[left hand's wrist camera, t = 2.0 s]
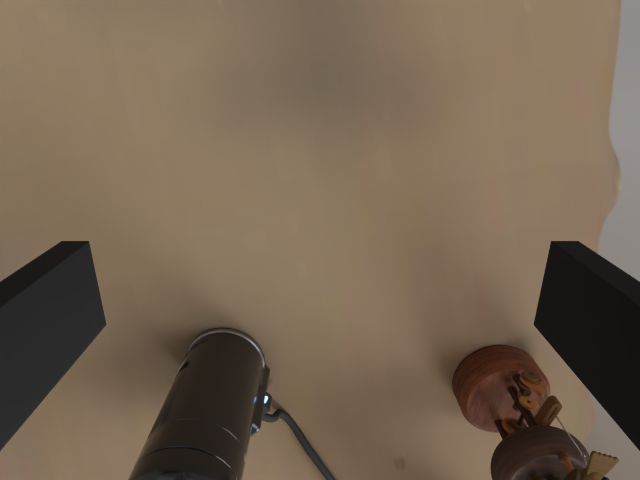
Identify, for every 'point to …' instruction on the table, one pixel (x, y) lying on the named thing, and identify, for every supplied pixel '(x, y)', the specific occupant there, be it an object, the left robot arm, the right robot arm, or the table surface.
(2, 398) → the left robot arm
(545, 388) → the music box
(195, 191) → the table surface
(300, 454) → the table surface
